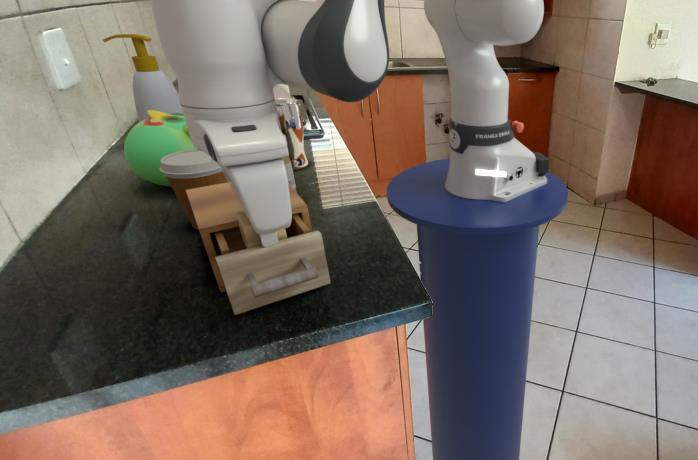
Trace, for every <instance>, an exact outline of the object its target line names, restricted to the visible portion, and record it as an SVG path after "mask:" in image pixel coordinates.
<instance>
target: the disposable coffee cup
mask: <svg viewBox="0 0 698 460" xmlns="http://www.w3.org/2000/svg"><path fill="white" fill-rule="evenodd" d="M159 169H160V171H161V172H162V173H163V174H164V175H165V176H166V177H167V179H168V181H169V182H170V184H171V186H170V188H172V191H173V192H174V194H175V196H176V198H177V200H178V201H179V204H180V205H181V207H182V209H183V211H184V212H185V215H186V216H187V218H188V220H189V222H190V224H191V226H192V227H193V229H195V230H198V231H199V228H198V225H197V222H196V219H195V216H194V213H193V210H192V207H191V204H190V201H189V198H188V195H187V193H186V190H187V189H193V188H199V187H205V186H210V185H216V184H222V183H227V180H226V178H225V176H224V173H223V170H222V167H220V166H219V165H218V164H217V162H215V161H213V160H212V159H211V157H210V156H209V155H208V154H206V153H205V152H204V151H201V150H198V149H190V150H184V151H179V152H175V153H172V154H169V155H166V156H164V157H163V158H162V159H161V166H160V168H159Z"/></svg>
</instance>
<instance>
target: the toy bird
mask: <svg viewBox="0 0 698 460" xmlns="http://www.w3.org/2000/svg"><path fill="white" fill-rule="evenodd" d="M147 113H148V114H149V116H150V117H149V118H147V119H145V120H142V121H141V122H139V121H138V122H137V123H136V124H135V125H133V127H132V128H131V129H130V131H129V132H128V133H127V135H126V137H125V139H124V144H123V154H124V158H125V161H126V164H127V165H128V167H129V168H130V170H132V171H133V172H134V174H136V175H137V176H138V177H140V178H141V179H143V180H145V181H147V182H149V183H152V184H155V185H159V186H163V187H171V184H170V182H169V181H168V179H167V177H166V176H165V175H164V174H163V173H162V172H161V171H160V169H159V168H160V166H161V159H162V158H163V157H164V156H166V155H169V154H172V153H175V152H179V151H184V150H190V149H196V148H195V147H194V146H193V144H192V141H191V137H190V134H189V131H188V128H187V125H186V122H185V118H184V115H183V114H181V113H173V114H167V113H163V112H160V111H155V110H148V111H147Z"/></svg>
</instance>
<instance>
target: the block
mask: <svg viewBox="0 0 698 460" xmlns="http://www.w3.org/2000/svg"><path fill="white" fill-rule="evenodd" d="M236 217H237V220H238V224H239V227H240V231H241V234H242V238H243V241H244V244H245V246H246V248H247V249H248V248H252V247H256V246H260V245H262V244H261V242H260V239H259V235H258V234H257V233H256V232H255V231H254V229H253V227H252V225H251V223H250V221H249V219H248V218H247V216H246V214H245V212H244V211H241V212H236ZM276 233H277V237H278V241H279V240H283V239H287V234H286V230H285V229H281V230H277V231H276Z"/></svg>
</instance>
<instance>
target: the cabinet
mask: <svg viewBox="0 0 698 460" xmlns="http://www.w3.org/2000/svg"><path fill="white" fill-rule="evenodd" d="M288 186H289V193H290V201H291V209H292V214H295V213H297V214H298V216H299V217H300V218H301V220H302V221H303V222H304V223H305V225H306V226H307V227H308V229H309V231H310V232H313V228H312V223H311V217H310V213H309V208H308V204H307V202H305V201H304V199H303V198H302V197H301V196H300V195H299V194H298V192H297V193H296V192H295V190H294V189H293V188H292V187H291V186H290V185H289V183H288ZM186 193H187V195H188V198H189V201H190V204H191V207H192V210H193V213H194V216H195V219H196V222H197V225H198V228H199V230H198V231H199V234H200V237H201V240H202V243H203V246H204V248H205V251H206V254H207V257H208V259H209V264H210V266H211V268H212V272H213V275H214V277H215V280H216V283H217V286H218V289H219V292H220V293H224V292H227V291H226V288H225V285H224V283H223V280H222V277H221V274H220V271H219V268H218V265H217V262H216V259H215V257H217V256H221V255H220V252H219V249H218V246H217V243H216V240H215V237H214V234H213V232H217V231H221V230H226V229H230V228H234V227H239V224H238V220H237V217H236V212H241V211H244V210H243V209H242V207H241V205H240V203H239V201H238V200H237V198H236V196H235V194H234V192H233V191H232V189H231V187H230V185H229V183H228V182H227V183H222V184H216V185H210V186H205V187H199V188H193V189H187V190H186Z"/></svg>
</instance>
